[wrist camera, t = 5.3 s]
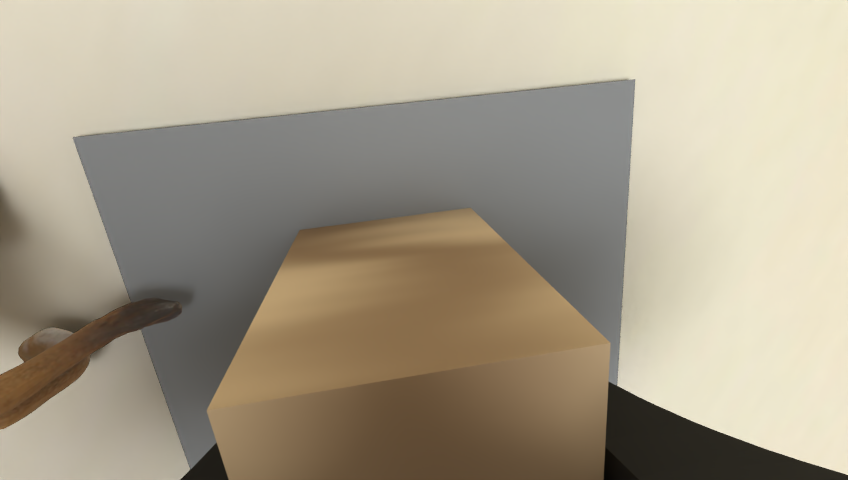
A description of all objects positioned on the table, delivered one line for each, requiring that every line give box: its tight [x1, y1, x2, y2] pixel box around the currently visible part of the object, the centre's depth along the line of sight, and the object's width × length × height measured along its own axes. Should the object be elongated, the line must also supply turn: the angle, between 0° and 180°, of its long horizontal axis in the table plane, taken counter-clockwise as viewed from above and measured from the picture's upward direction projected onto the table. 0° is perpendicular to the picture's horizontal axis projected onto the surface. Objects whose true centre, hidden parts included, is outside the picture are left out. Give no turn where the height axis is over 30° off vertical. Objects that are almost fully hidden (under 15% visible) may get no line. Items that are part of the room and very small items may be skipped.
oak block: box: [207, 208, 610, 480], centre depth 8 cm, size 4×7×6 cm, turn 6°
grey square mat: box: [73, 79, 635, 470], centre depth 11 cm, size 12×12×1 cm
